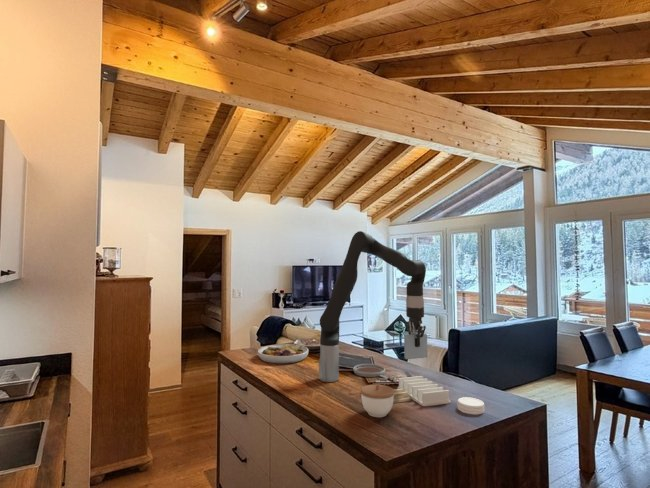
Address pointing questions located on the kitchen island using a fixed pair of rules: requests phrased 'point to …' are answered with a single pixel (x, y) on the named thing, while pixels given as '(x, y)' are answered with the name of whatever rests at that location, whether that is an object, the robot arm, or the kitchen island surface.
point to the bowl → (283, 353)
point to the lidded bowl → (377, 399)
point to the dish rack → (424, 391)
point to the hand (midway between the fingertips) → (415, 346)
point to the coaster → (470, 405)
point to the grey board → (413, 351)
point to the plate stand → (400, 396)
